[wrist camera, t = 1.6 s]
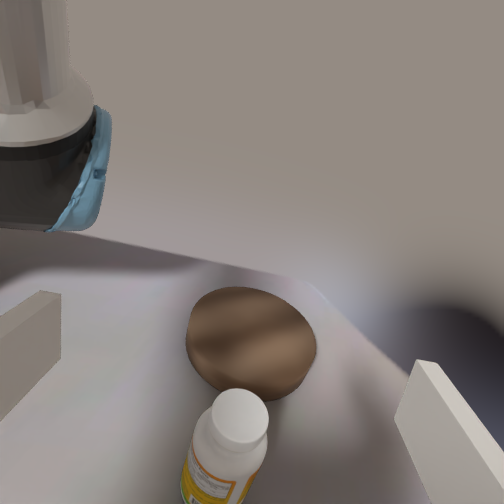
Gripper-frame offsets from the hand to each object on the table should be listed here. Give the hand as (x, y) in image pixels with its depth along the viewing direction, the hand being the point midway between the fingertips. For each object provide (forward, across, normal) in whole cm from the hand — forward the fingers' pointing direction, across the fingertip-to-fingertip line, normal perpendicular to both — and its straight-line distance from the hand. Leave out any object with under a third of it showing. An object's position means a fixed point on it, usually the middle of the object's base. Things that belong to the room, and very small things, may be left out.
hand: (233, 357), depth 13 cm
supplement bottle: (+10, 0, -19) cm, 22 cm away
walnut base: (+26, +2, -16) cm, 30 cm away
